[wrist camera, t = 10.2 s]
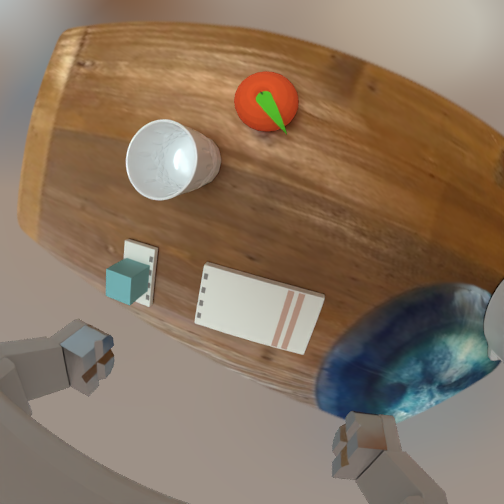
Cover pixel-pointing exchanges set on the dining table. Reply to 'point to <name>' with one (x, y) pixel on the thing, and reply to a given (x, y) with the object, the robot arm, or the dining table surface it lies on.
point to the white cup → (170, 160)
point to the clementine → (266, 101)
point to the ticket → (257, 308)
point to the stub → (133, 274)
